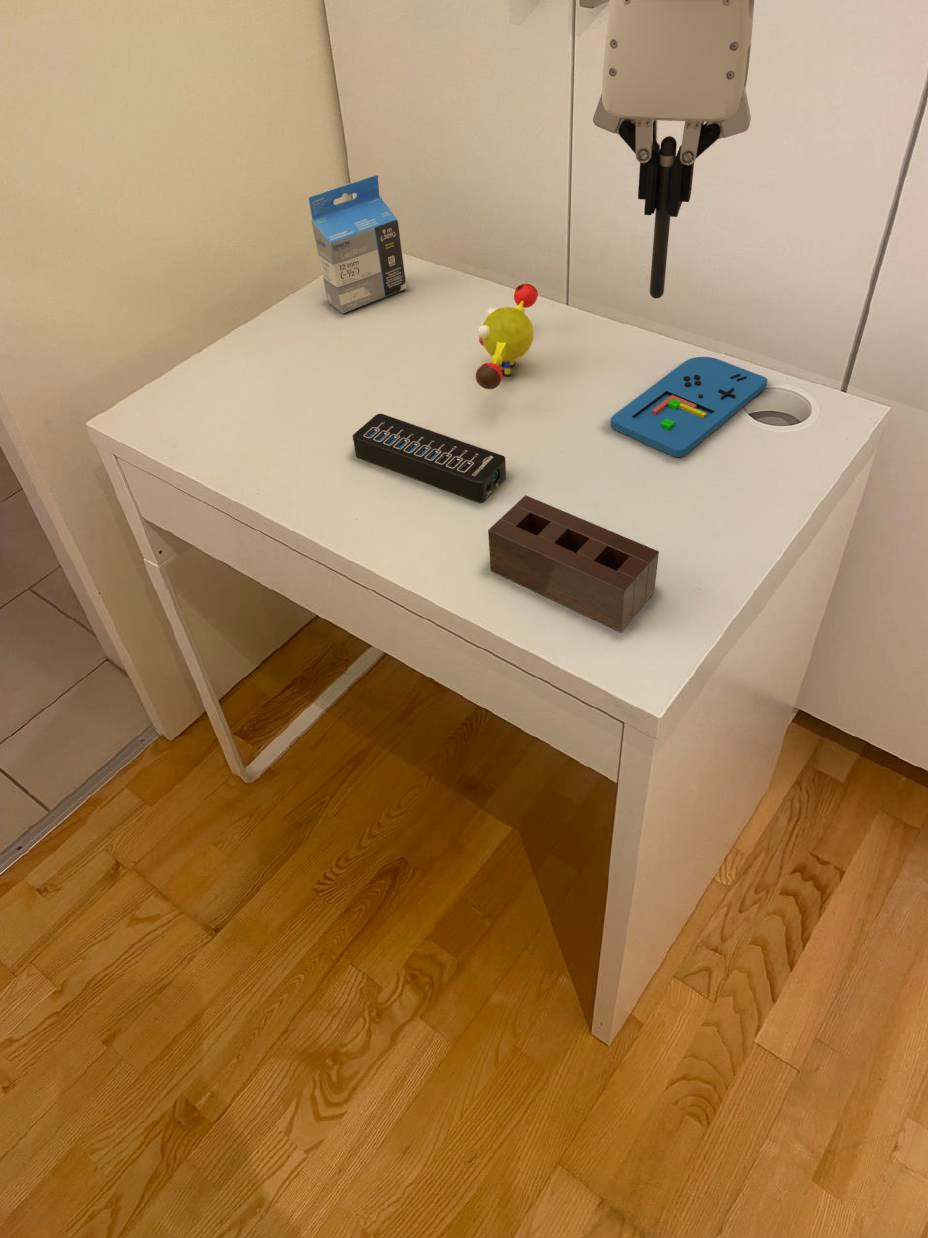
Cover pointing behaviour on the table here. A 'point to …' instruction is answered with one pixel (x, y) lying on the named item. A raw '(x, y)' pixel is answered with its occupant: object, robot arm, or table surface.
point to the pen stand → (573, 562)
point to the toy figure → (506, 337)
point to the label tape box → (357, 245)
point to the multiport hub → (430, 457)
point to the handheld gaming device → (688, 404)
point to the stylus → (662, 217)
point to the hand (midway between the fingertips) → (663, 207)
